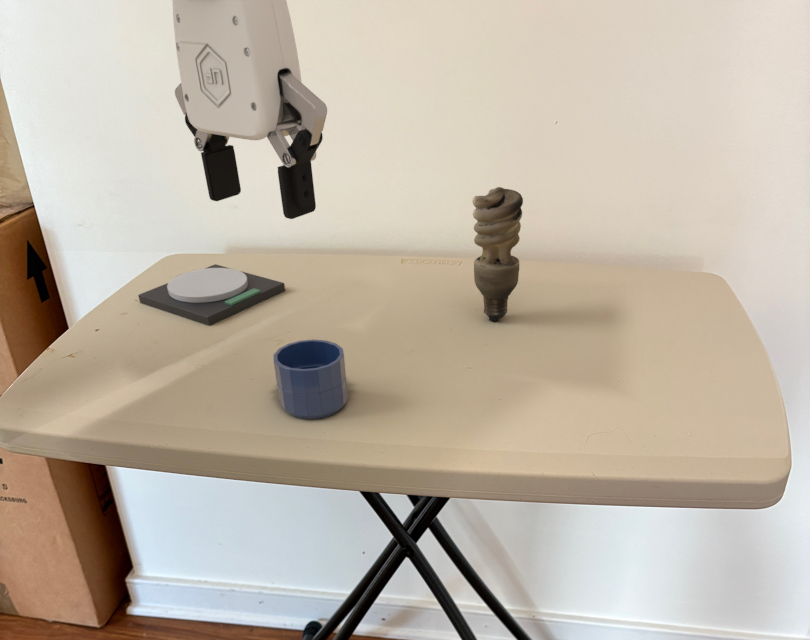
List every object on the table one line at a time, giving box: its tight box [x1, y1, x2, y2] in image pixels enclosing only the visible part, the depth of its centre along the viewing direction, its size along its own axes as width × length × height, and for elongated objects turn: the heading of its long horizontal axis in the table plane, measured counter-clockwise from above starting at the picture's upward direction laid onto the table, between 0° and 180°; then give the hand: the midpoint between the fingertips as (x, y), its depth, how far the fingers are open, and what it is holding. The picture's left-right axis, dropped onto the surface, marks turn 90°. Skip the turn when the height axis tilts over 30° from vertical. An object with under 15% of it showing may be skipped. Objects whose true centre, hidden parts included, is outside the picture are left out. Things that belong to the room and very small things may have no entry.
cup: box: [273, 339, 349, 420], centre depth 75 cm, size 7×7×6 cm
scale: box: [137, 264, 286, 327], centre depth 97 cm, size 13×13×3 cm
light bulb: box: [472, 186, 524, 322], centre depth 87 cm, size 6×6×15 cm
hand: (261, 205), depth 66 cm, fingers open, 9 cm apart
